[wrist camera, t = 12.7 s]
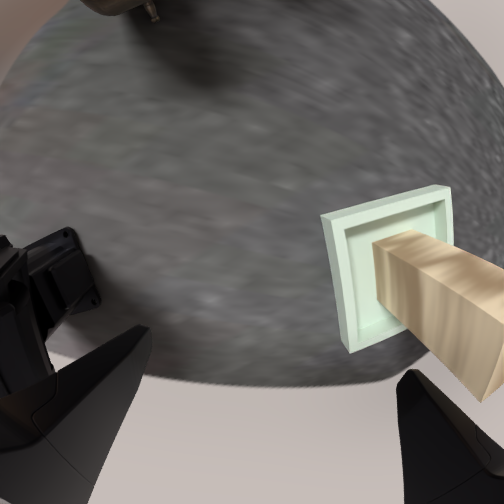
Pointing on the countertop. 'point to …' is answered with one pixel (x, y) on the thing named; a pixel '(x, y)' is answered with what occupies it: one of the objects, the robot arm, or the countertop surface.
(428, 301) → the beech block
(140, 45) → the countertop surface
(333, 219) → the green tray
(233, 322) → the countertop surface
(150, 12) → the alarm clock
